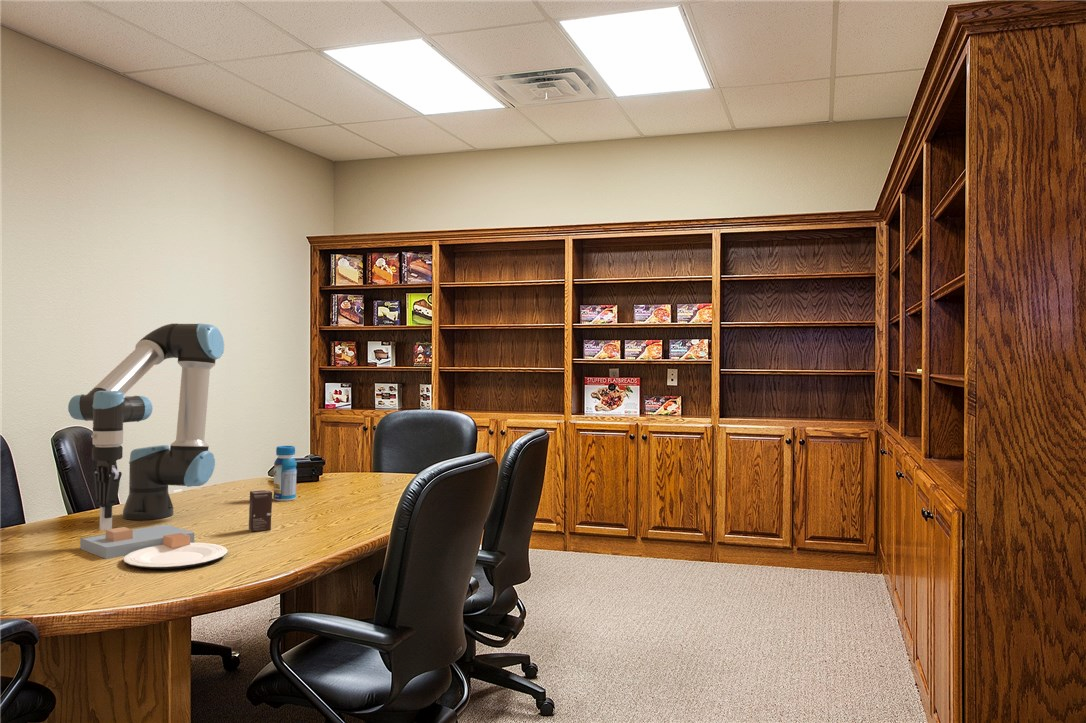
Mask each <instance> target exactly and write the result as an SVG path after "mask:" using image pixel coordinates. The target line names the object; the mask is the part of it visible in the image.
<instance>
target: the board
mask: <svg viewBox="0 0 1086 723" xmlns="http://www.w3.org/2000/svg"><path fill="white" fill-rule="evenodd" d="M132 530H133V539H128V540H122V541H116V542H113V541H110V540H107V539H105V536H106V533H105V534H103V533H102V534H96V535H91V536H90V535H89V536H85V537H80V538H79V540H80V541H79V542H80V544H79V545H80V546H79V549H80V550H82V551H84V552H87V553H90V554H93V555H95V556H98V557H100V558H103V559H105V560H107V559H113V558H114V559H115V558H118V557H119V558H120V557H125V556H126V555H128V554H129V553H131V552H134V551H137V550H139V549H143V548H148V547H153V546H158V545H163V536H165V535H171V534H177V533H183V534H186V535H190V543H195V532H194V531H192V530H191V531H190V530H187V529H184V528H179V527H176V526H173V525H171V524H170V525H169V524H160V525H154V526H149V527H141V528H136V529H132Z"/></svg>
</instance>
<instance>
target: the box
mask: <svg viewBox="0 0 1086 723" xmlns="http://www.w3.org/2000/svg"><path fill="white" fill-rule="evenodd" d="M272 507H273V492H272V491H271V490H269V489H265V490H263V489H262V490H251V491H249V508H248V509H249V511H248V531H250V532H252V533H253V532H262V531H271V530H272Z"/></svg>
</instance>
